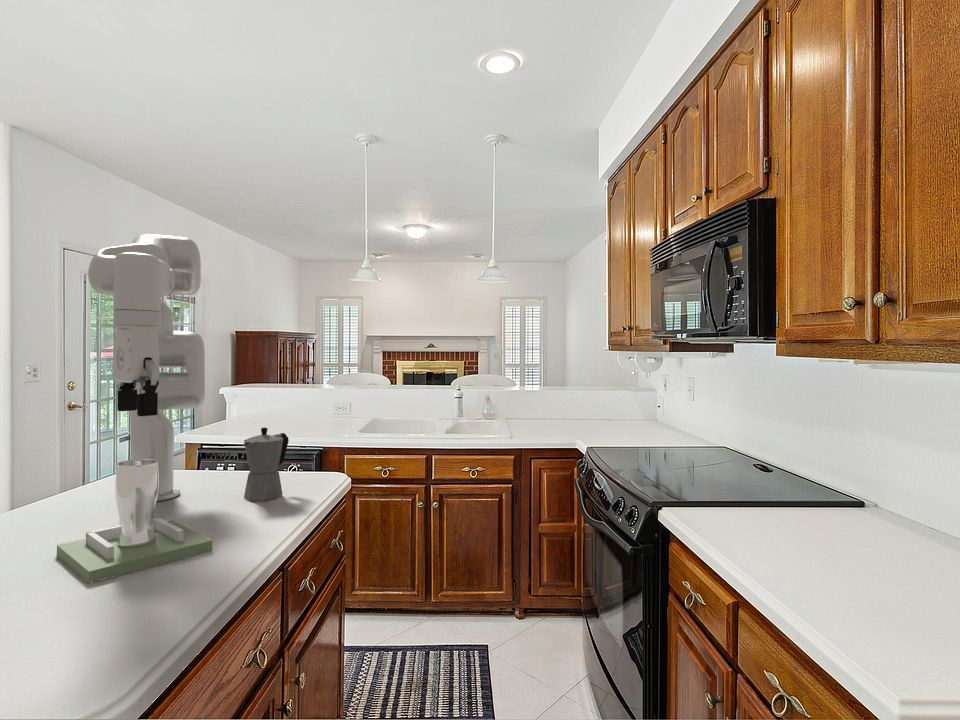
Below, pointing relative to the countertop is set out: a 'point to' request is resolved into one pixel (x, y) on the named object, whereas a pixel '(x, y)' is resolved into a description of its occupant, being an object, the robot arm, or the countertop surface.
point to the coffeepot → (264, 465)
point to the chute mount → (130, 550)
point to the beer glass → (136, 501)
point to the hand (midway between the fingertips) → (137, 413)
